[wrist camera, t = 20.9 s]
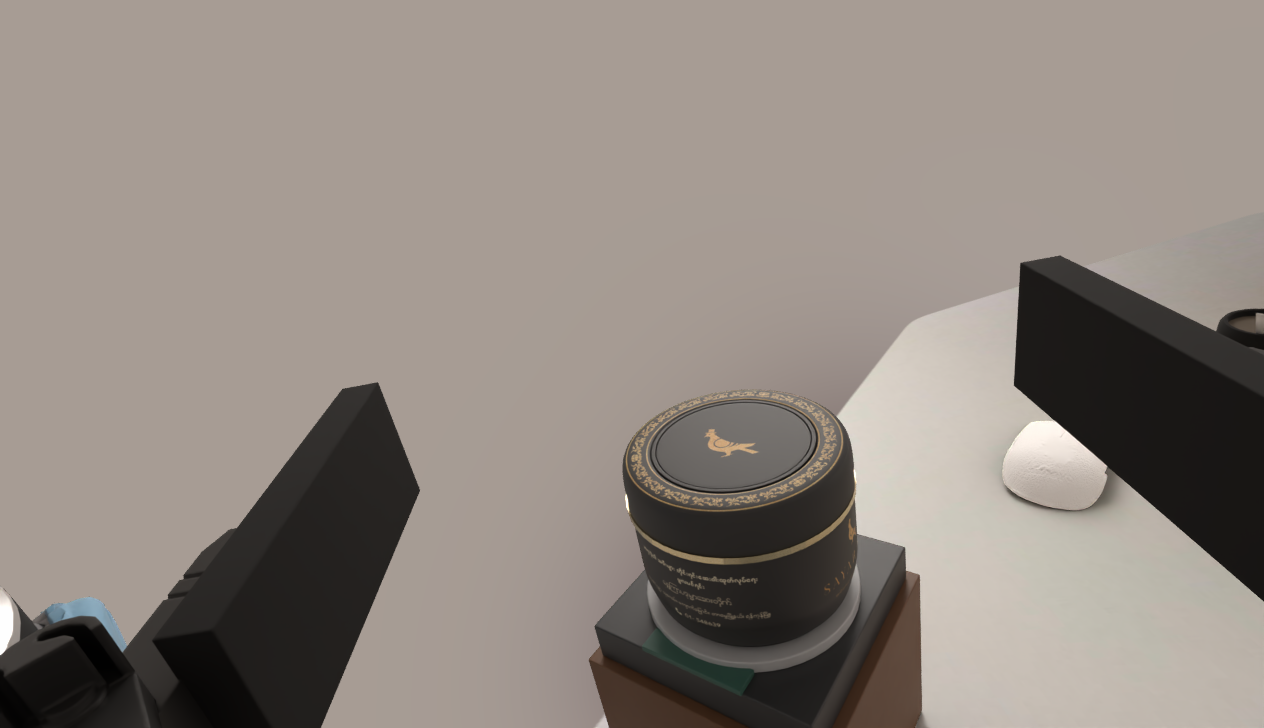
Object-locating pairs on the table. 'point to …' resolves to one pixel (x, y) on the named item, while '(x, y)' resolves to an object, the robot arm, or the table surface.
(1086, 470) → the computer mouse
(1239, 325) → the mug
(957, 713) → the table surface
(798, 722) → the scale
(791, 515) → the jar
